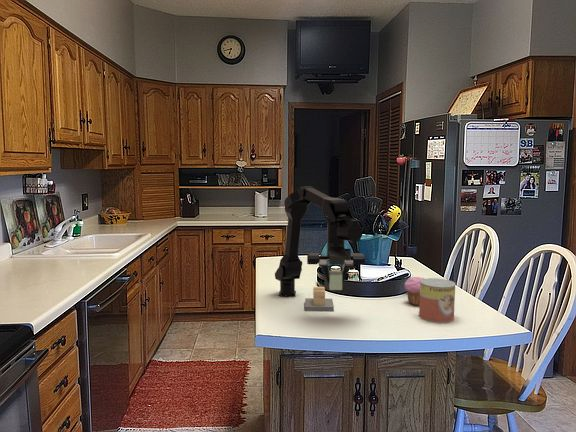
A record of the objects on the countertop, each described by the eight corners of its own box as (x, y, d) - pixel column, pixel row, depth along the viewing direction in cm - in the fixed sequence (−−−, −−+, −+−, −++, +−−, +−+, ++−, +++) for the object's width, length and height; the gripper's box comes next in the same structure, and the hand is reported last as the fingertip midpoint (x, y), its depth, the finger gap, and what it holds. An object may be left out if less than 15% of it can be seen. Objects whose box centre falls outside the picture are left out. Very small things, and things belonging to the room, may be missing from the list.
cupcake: (399, 301, 173) (400, 275, 172) (418, 299, 177) (419, 273, 175) (415, 308, 165) (415, 281, 164) (434, 305, 168) (435, 278, 167)
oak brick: (313, 300, 170) (313, 286, 170) (324, 300, 170) (324, 286, 169) (313, 305, 164) (313, 291, 164) (324, 305, 164) (324, 291, 163)
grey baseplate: (305, 302, 172) (305, 298, 172) (332, 302, 172) (332, 298, 172) (305, 310, 163) (305, 306, 162) (333, 311, 162) (333, 307, 162)
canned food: (434, 325, 148) (435, 288, 147) (411, 314, 159) (412, 280, 157) (461, 320, 153) (463, 284, 152) (437, 310, 163) (439, 276, 162)
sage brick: (328, 285, 157) (329, 270, 156) (340, 285, 157) (340, 270, 156) (329, 289, 151) (329, 274, 150) (342, 289, 151) (342, 274, 150)
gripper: (307, 241, 144) (307, 290, 146) (367, 242, 144) (366, 291, 145) (307, 236, 155) (307, 281, 157) (363, 236, 155) (362, 282, 156)
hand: (335, 284), depth 154 cm, fingers closed on sage brick, 4 cm apart
